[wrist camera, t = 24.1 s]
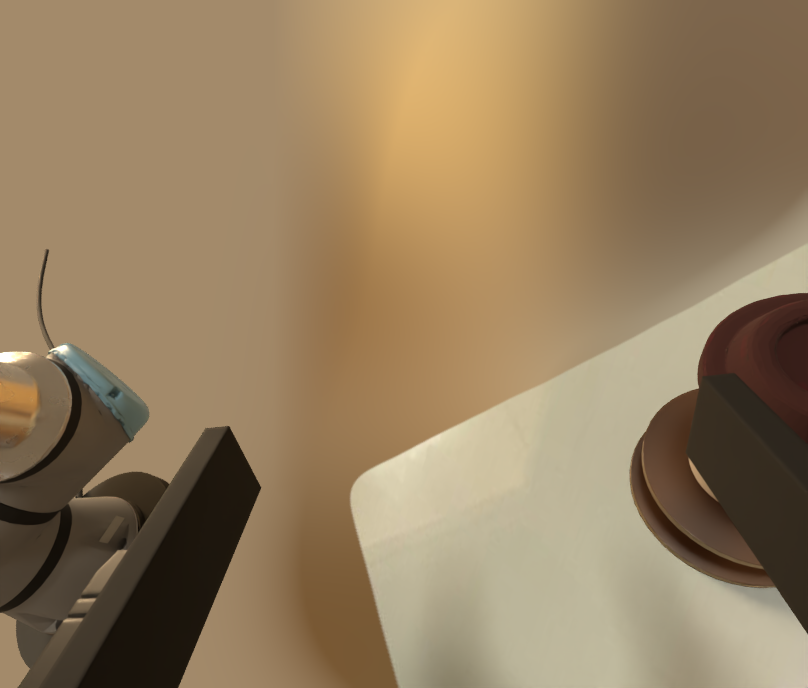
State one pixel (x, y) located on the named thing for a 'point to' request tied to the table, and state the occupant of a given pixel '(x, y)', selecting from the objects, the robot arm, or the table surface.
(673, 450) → the stand
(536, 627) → the table surface
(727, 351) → the coffee cup
